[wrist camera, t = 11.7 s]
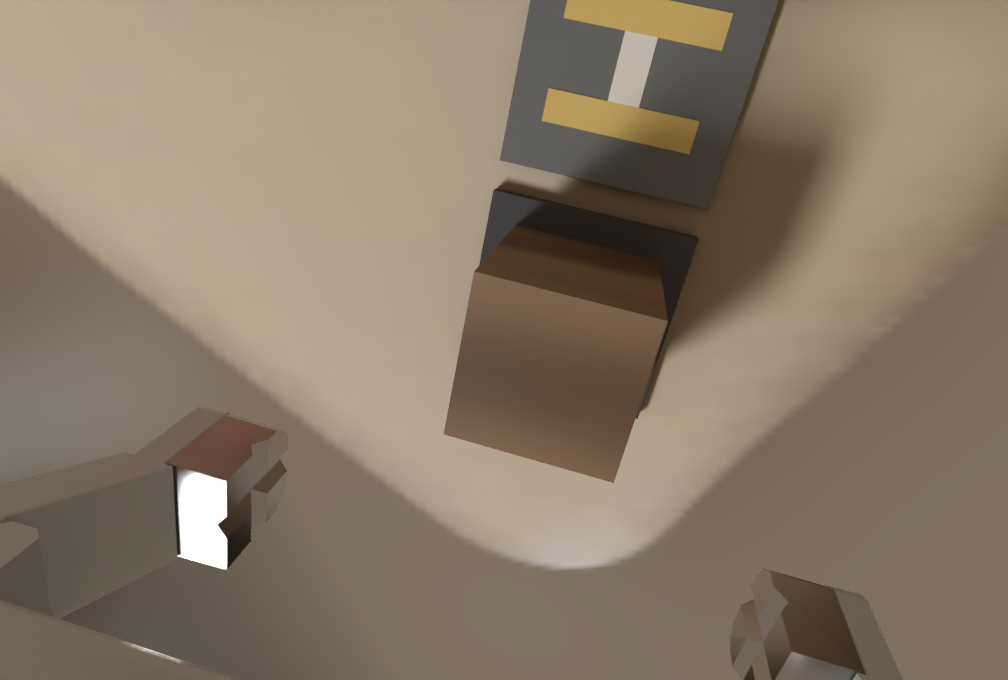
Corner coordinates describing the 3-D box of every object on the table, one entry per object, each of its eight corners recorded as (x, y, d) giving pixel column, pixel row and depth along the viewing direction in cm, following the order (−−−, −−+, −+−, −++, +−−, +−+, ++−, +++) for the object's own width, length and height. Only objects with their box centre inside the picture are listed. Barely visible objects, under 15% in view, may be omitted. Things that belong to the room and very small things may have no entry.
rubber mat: (496, 188, 21) (493, 190, 21) (697, 237, 20) (698, 239, 20) (462, 365, 24) (459, 370, 24) (637, 413, 23) (637, 418, 23)
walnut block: (515, 224, 21) (474, 271, 16) (658, 260, 20) (668, 320, 15) (488, 353, 23) (443, 434, 18) (618, 388, 23) (613, 482, 17)
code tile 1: (548, -84, 18) (546, -87, 18) (789, -37, 17) (792, -40, 17) (501, 159, 21) (499, 160, 20) (707, 207, 20) (708, 209, 20)
